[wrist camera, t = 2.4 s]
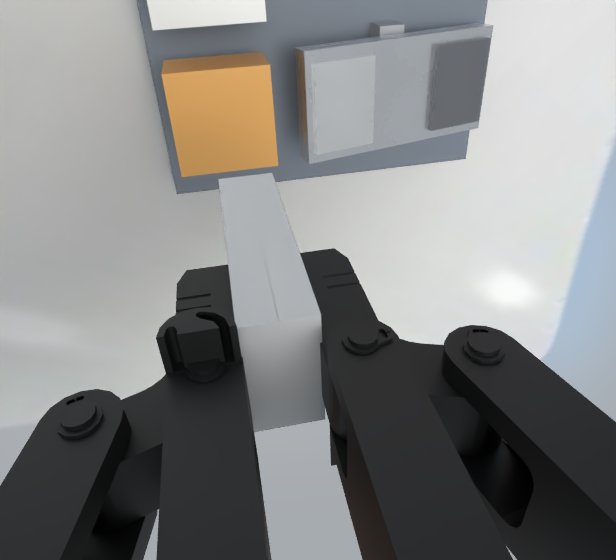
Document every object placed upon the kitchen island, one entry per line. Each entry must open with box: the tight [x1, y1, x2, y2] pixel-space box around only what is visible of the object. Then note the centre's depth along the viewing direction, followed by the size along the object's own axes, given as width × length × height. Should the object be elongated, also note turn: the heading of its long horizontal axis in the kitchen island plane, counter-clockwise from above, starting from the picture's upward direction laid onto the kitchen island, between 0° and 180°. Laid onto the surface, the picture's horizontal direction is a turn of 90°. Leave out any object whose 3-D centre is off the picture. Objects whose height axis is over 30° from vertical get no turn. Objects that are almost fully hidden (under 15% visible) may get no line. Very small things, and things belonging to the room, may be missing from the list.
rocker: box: [295, 23, 493, 164], centre depth 25 cm, size 10×5×1 cm, turn 93°
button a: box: [161, 52, 278, 177], centre depth 23 cm, size 4×4×3 cm
